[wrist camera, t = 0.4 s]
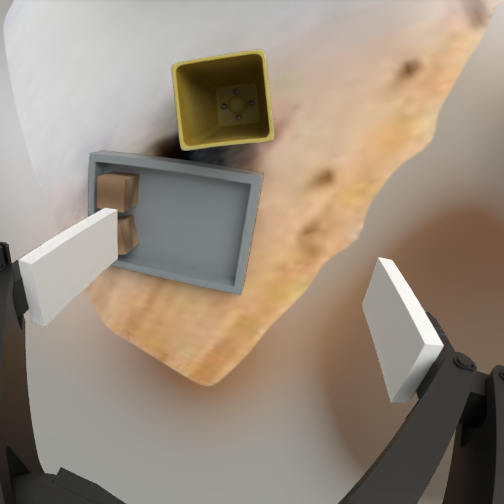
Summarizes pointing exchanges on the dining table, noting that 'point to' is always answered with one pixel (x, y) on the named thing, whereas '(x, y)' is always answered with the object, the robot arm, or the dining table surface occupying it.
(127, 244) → the walnut block
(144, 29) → the dining table surface
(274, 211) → the dining table surface
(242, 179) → the tray
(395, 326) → the robot arm
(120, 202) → the walnut block
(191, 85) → the flower pot
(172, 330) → the dining table surface
